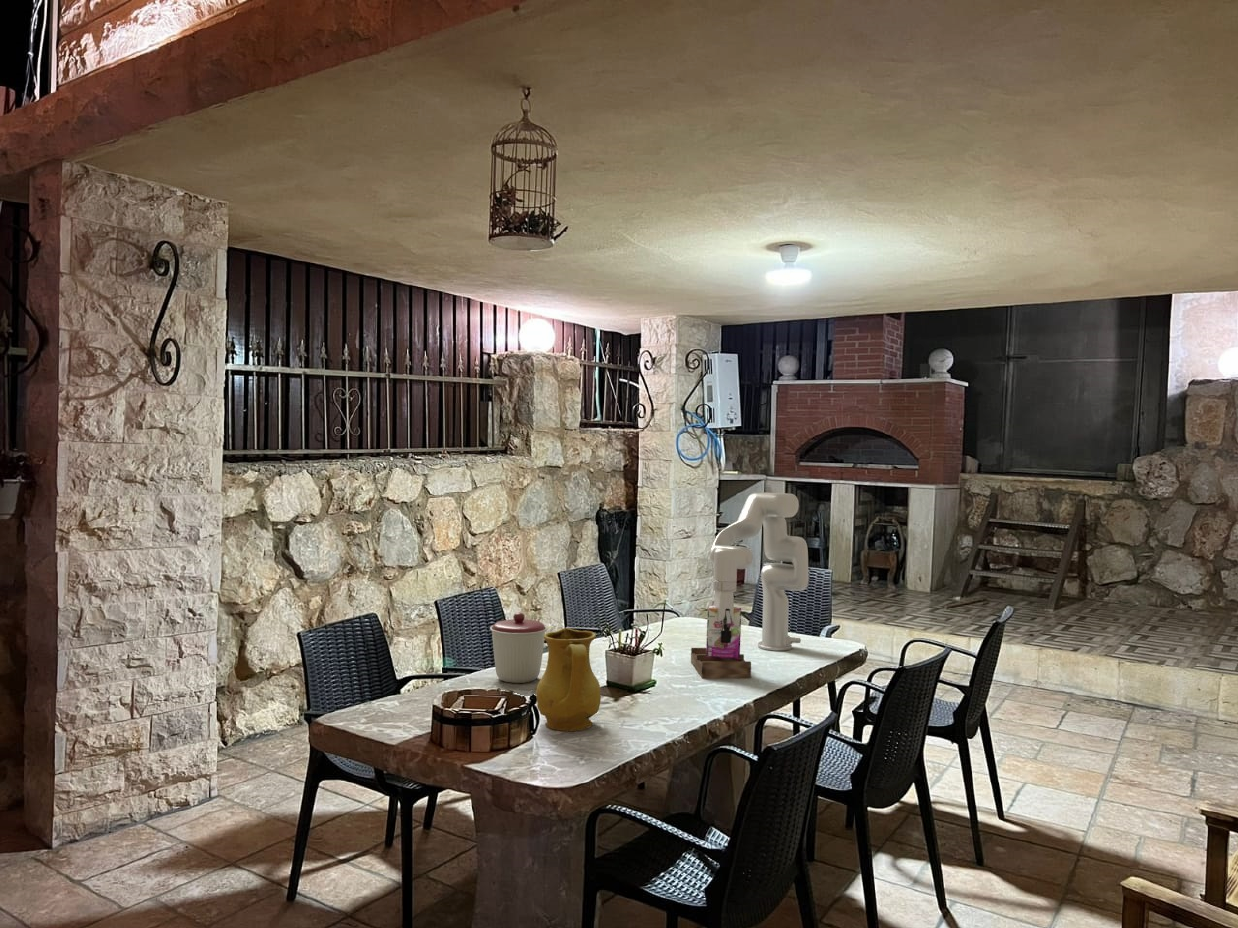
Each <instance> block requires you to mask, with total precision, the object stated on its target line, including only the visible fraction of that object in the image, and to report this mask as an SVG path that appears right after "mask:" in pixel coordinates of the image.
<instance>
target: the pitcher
mask: <svg viewBox="0 0 1238 928" xmlns="http://www.w3.org/2000/svg"><path fill="white" fill-rule="evenodd" d="M594 639H596V633H595V632H593V631H590V630H577V629H573V628H568V627H566V628H560V629H559V630H557V631H550V632H549V631H548V632H547V633H546V632H545V635H544V641H545V642H546V643H547V646H548V656H547V664H546V667H545V668H546V669H545V671H544V673H543V675H542V676H541V678H540V680H538V683H537V686H536V691H535V692H536V694H535V695H536V696H535V697H536V703H537V704H536V705H537V706H536V707H537V710H538V711H539V713H540V715H541V716H543V717H545V719H546V722H545V725H544V726H545V727H546V728H548V729H551V730H555V731H562V732H563V731H564V732H573V731H575V732H576V731H577V732H579V731H580V732H581V731H583V730H586V729H590V728H591V727H592V726H593V722H592V721H591V719H590V718H592V717H593V716H594V715H596V714H597V713H599V709H600V707H601V706H600V705H601V700H602V698H601V696H602V695H601V685H600V683H599V680H598V678H597V676H596V675H595V674H594V671H593V669H592V667H591V663H590V651H591V650H590V647H591V644H592V642H593V641H594Z"/></svg>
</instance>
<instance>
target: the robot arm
mask: <svg viewBox="0 0 1238 928" xmlns="http://www.w3.org/2000/svg"><path fill="white" fill-rule="evenodd" d="M747 496H748V497H747V498H746V500H745V502H744V505H743V507H742V509H741V512H740V514H739V516H738V518H737V520H736V521H735V522H733V523H732V524H730V525H728V526H727V527H725V528H724V529H722V530H721V531H720V532H719V533H717V535H716V537H715V539H714V541H713V543H712V546H711V548H710V551H709V561H710V563H711V564H712V565H713V587H712V588H713V591H714V601H713V602H714V603H713V606H715V607H716V608H717V621H719V622H721V621H722V631H721V643H731V622H732V621H733V615H734V607H735V604H734V603H735V602H734V601H735V599H734V598H735V597H734V595H735V594H734V592H735V593H736V591H737V579H738V578H737V577H738V576H737V575H738V570H744V569H747V568H749V567H750V566H751V564H752V563H753V559H754V557H753V556H754V555H753V553H752V550H751V549H750V548H748V547H746V546H738V545H732V544H735V543H738V542H740V541H743V540H744V541H745V540H746V539H750V538H753V537H756V536H757V535H759V533H760V532H761V529H762V527H763V549H764V550H763V551H764V555H765V557H766V559H768V560H771V561H777V562H779V563H777V562H770V563H766V564H765V565H763V567H762V568H761V572H760V578H761V579H760V581H761V585H762V626H761V627H762V630H761V632H762V633H761V636H762V638H761V641H759V642H758V643H757V647H758V648H760V649H763V650H767V651H776V652H777V651H778V652H779V651H781V652H783V651H789V650H791V649H793V645H792V644H801V639H802V638H800V637H794V636H790V635H789V607H790V606H789V605H790V604H789V602H790V601H789V598H788V595H787V594H786V593H785V591H794V592H802V591H805V589H807V587H808V585H809V552H808V545H807V541H806V540H805V539H804V538H803V537H801V536H793V535H788V529H787V521H786V518H793V517H794V516H796V514H797V513H798V511H799V508H800V505H799V503H800V502H799V499H798V497H797V496H796V495H795V494H793V493H784V492H766V491H765V492H761V491H760V492H752V493H750V494H749V495H747ZM781 562H788V563H789V564H787V563H781ZM790 563H791V564H790ZM730 616H731V618H732V619H730ZM723 619H726V621H723ZM724 623H726V624H725V625H724Z"/></svg>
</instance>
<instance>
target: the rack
mask: <svg viewBox="0 0 1238 928" xmlns="http://www.w3.org/2000/svg"><path fill="white" fill-rule="evenodd" d="M690 664H691V665H692V666H693V668H694V669H695V670H696V673H698V675H699V676H700V677H701V679H752V662H751V660H750V661H746V660H745V654H743V653H742V654H741V653H740V659H730V658H711V657H706V647H691V648H690Z"/></svg>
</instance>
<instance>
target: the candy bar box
mask: <svg viewBox="0 0 1238 928" xmlns="http://www.w3.org/2000/svg"><path fill="white" fill-rule="evenodd" d="M706 619H707V620H706V643H705V644H706V646H705V648H706V657H711V658H730V659H740V654H741V632H742V631H741V630H742V608H741V607H738V606H734V615H733V621H732V622H731V643H721V631H722V621H721V622H719V621H717V608H716V607H715V606H714V605H708V606H707V618H706ZM730 619H732V618H731V616H730ZM723 621H726V619H723ZM725 624H726V623H724V625H725Z"/></svg>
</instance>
